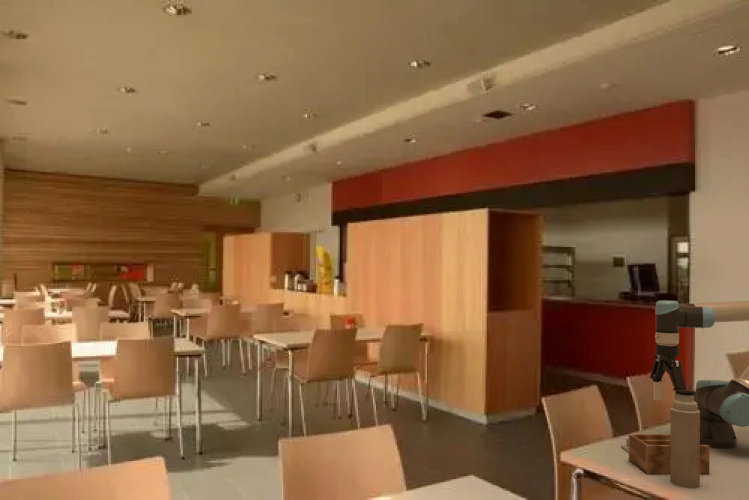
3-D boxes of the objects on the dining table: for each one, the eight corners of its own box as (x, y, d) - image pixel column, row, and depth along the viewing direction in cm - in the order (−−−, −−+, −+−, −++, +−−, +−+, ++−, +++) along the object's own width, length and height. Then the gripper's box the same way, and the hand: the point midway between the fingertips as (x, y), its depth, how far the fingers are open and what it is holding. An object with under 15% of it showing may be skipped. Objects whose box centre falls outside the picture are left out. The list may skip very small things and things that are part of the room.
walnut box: (687, 461, 206) (687, 434, 206) (709, 474, 193) (709, 445, 193) (628, 461, 206) (628, 434, 206) (647, 474, 193) (647, 445, 193)
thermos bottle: (700, 481, 187) (700, 390, 187) (698, 490, 180) (698, 394, 180) (672, 476, 191) (672, 387, 191) (668, 484, 184) (669, 391, 185)
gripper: (640, 339, 229) (640, 396, 228) (675, 349, 204) (675, 413, 203) (659, 339, 229) (660, 396, 229) (697, 349, 204) (697, 413, 204)
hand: (667, 404), depth 216 cm, fingers open, 13 cm apart
